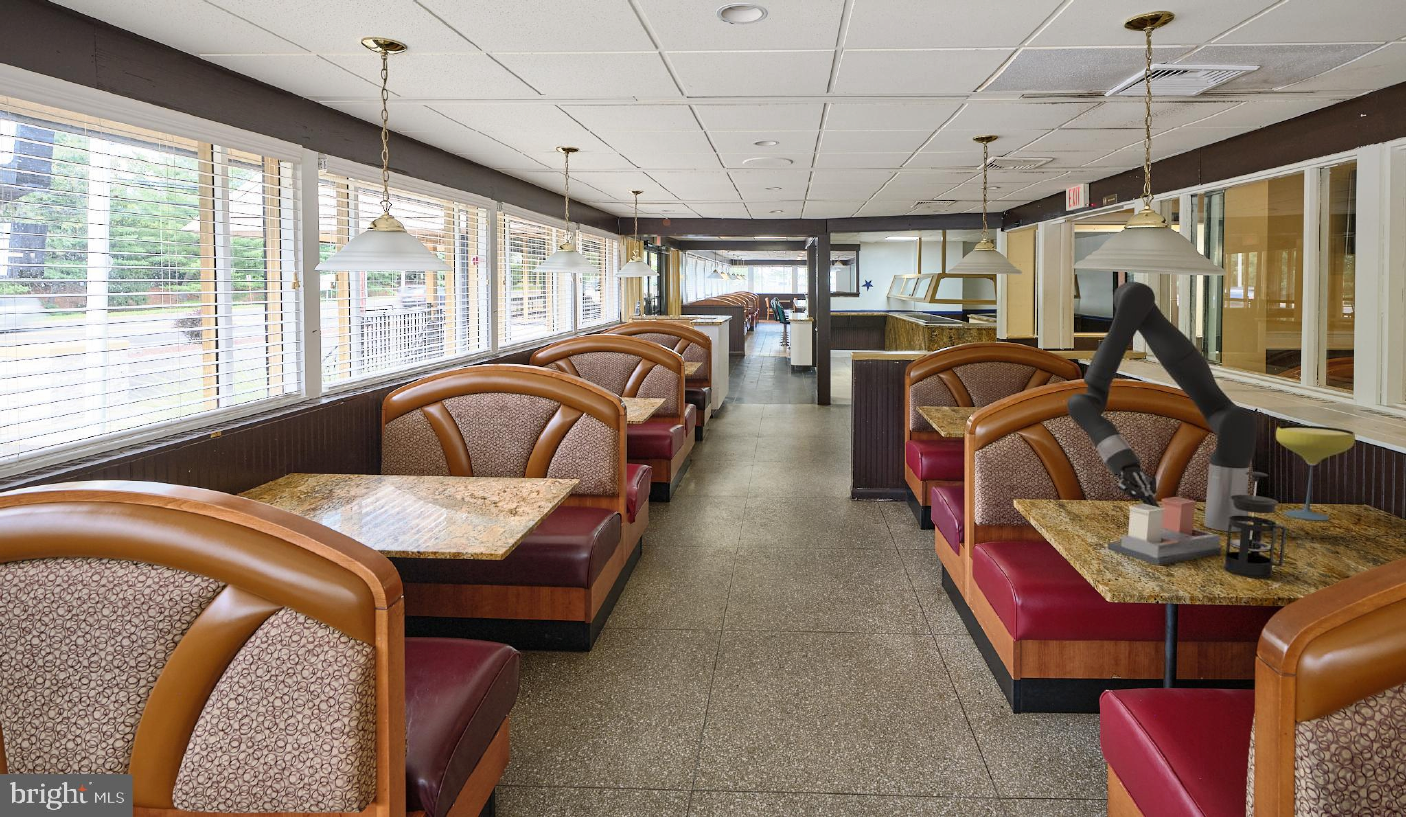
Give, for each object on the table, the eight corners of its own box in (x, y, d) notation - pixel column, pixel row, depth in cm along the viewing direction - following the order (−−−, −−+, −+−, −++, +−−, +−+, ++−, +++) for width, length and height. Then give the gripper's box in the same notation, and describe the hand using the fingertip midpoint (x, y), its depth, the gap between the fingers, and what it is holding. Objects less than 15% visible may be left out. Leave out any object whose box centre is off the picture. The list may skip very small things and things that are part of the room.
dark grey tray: (1107, 548, 209) (1108, 531, 209) (1167, 538, 218) (1169, 521, 218) (1158, 565, 197) (1160, 546, 196) (1220, 553, 206) (1222, 535, 205)
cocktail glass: (1255, 512, 246) (1263, 427, 242) (1291, 505, 254) (1299, 423, 251) (1323, 527, 230) (1333, 436, 226) (1359, 519, 238) (1369, 432, 235)
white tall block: (1126, 546, 206) (1129, 506, 204) (1141, 543, 208) (1144, 503, 207) (1145, 552, 201) (1149, 511, 200) (1161, 549, 203) (1164, 508, 202)
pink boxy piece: (1158, 537, 213) (1161, 498, 212) (1173, 535, 215) (1176, 496, 214) (1178, 543, 208) (1181, 503, 207) (1193, 540, 211) (1196, 501, 209)
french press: (1214, 570, 193) (1222, 471, 190) (1227, 561, 199) (1236, 466, 196) (1274, 583, 184) (1284, 480, 181) (1286, 574, 191) (1296, 474, 188)
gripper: (1109, 449, 220) (1148, 505, 211) (1144, 445, 226) (1183, 500, 217) (1091, 465, 226) (1127, 521, 217) (1126, 461, 231) (1163, 515, 222)
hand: (1155, 510), depth 217 cm, fingers closed
